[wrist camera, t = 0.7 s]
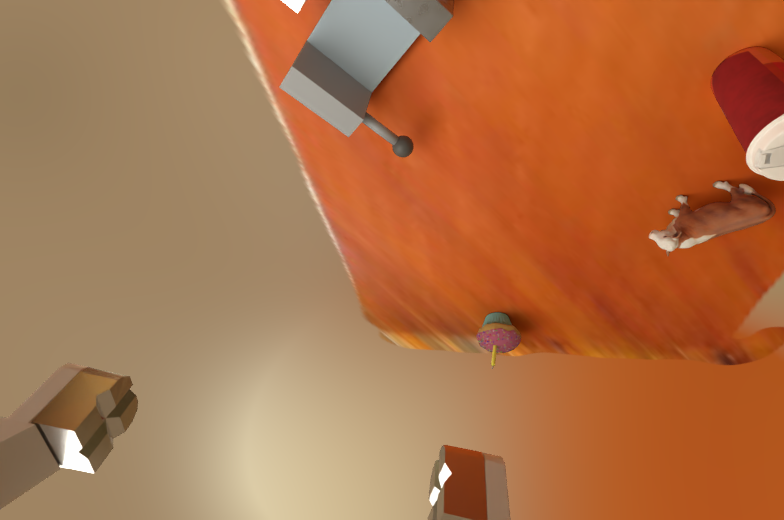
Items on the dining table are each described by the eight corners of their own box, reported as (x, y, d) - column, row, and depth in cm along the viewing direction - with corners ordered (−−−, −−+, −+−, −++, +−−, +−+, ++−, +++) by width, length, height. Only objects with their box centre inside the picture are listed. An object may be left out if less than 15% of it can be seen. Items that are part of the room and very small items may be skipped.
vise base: (391, -98, 38) (379, -77, 33) (514, 32, 45) (519, 65, 40) (297, 55, 49) (279, 87, 45) (406, 139, 56) (400, 174, 52)
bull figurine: (636, 202, 60) (652, 244, 55) (754, 168, 53) (785, 212, 48) (641, 222, 62) (657, 264, 57) (754, 192, 56) (783, 236, 51)
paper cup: (696, 114, 49) (746, 193, 40) (701, 52, 44) (759, 127, 35) (781, 91, 46) (855, 172, 37) (796, 22, 41) (887, 95, 32)
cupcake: (468, 318, 88) (467, 371, 80) (497, 301, 82) (499, 357, 74) (498, 333, 91) (500, 386, 83) (528, 318, 85) (534, 373, 77)
